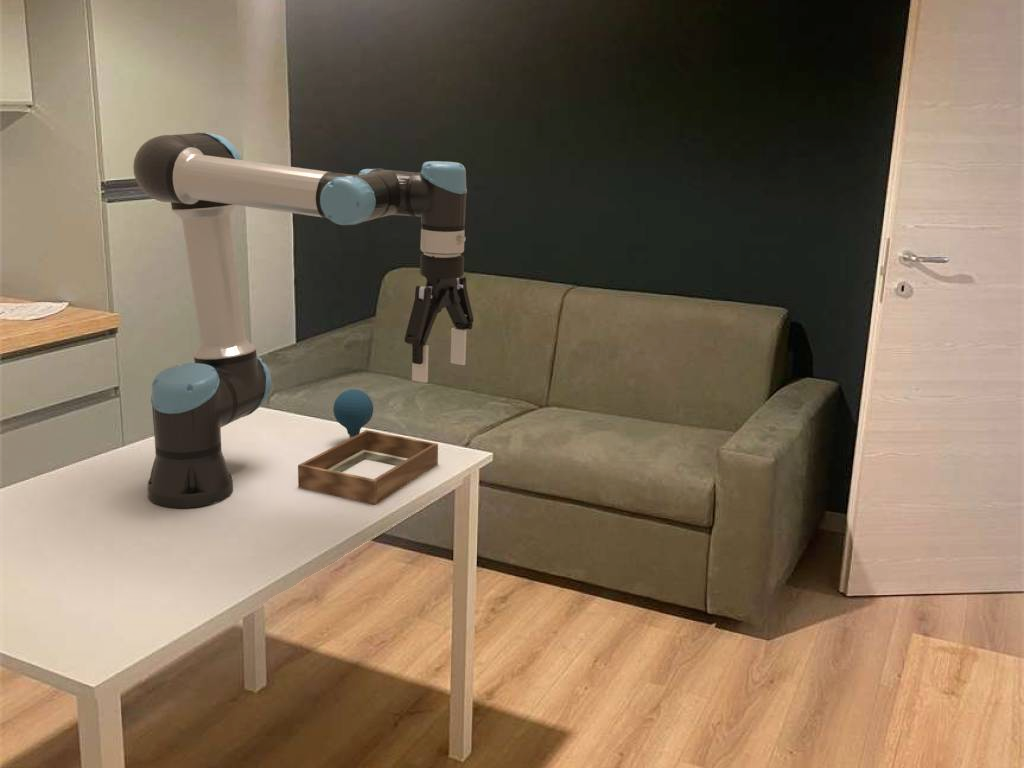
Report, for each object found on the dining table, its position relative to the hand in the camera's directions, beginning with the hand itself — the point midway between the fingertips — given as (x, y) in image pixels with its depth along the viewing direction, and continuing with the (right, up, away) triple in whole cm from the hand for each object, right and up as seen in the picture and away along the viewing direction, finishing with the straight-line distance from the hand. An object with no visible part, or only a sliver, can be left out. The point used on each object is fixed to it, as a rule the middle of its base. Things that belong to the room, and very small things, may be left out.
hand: (439, 372), depth 187 cm
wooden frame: (-15, -20, +20) cm, 32 cm away
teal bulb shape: (-21, -15, +38) cm, 46 cm away
